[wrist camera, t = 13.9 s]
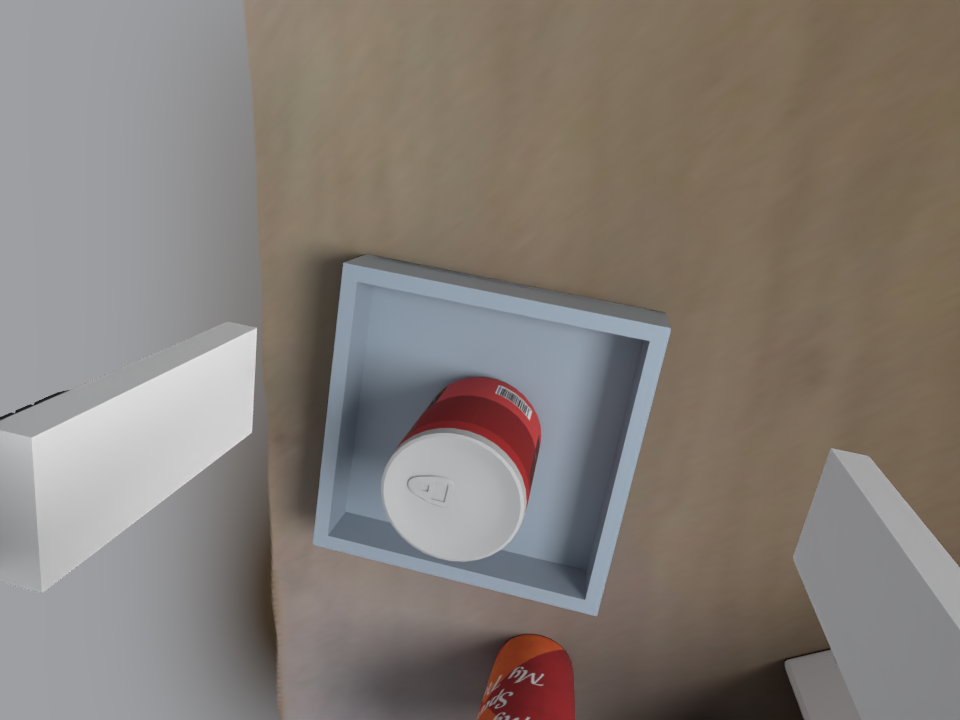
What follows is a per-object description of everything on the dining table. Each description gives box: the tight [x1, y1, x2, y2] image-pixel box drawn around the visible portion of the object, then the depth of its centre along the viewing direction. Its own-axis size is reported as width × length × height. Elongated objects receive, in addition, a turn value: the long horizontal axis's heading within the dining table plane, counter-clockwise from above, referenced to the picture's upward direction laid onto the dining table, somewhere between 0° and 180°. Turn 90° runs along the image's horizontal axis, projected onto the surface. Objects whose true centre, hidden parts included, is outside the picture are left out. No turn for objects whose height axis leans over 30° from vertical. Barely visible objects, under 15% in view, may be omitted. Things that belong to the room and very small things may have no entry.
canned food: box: [381, 377, 541, 562], centre depth 42 cm, size 8×8×11 cm
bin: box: [313, 254, 671, 616], centre depth 46 cm, size 20×20×4 cm
